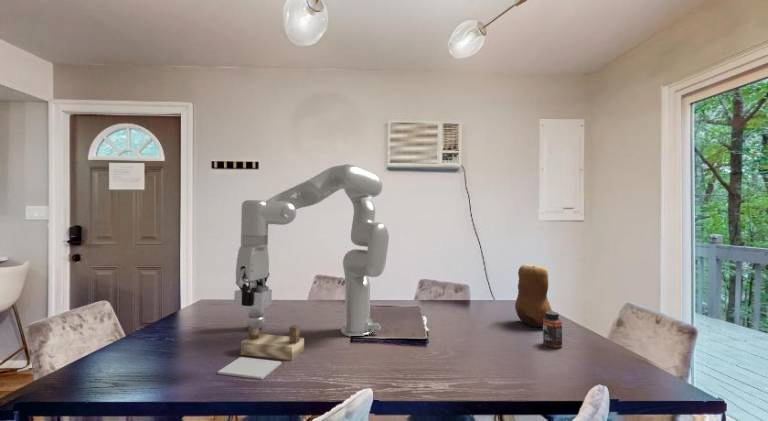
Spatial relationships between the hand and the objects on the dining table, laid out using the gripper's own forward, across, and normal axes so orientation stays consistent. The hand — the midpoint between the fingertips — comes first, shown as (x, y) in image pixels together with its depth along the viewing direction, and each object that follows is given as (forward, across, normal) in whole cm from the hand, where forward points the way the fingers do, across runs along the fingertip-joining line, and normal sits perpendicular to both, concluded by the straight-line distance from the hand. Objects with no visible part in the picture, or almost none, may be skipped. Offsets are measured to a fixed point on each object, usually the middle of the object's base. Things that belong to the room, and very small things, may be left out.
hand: (253, 302), depth 98 cm
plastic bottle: (+19, -30, -19) cm, 40 cm away
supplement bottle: (+18, -40, +91) cm, 101 cm away
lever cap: (+1, 0, 0) cm, 1 cm away
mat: (+19, +1, 0) cm, 19 cm away
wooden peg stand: (+19, -11, 0) cm, 22 cm away
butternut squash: (+18, -62, +88) cm, 110 cm away
